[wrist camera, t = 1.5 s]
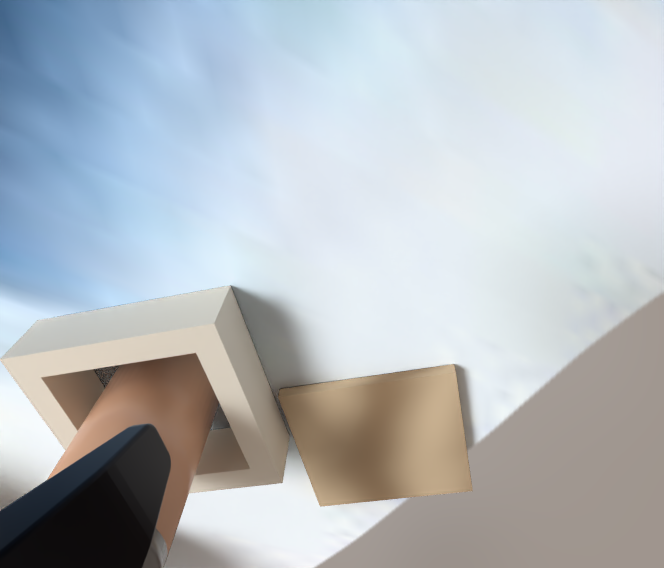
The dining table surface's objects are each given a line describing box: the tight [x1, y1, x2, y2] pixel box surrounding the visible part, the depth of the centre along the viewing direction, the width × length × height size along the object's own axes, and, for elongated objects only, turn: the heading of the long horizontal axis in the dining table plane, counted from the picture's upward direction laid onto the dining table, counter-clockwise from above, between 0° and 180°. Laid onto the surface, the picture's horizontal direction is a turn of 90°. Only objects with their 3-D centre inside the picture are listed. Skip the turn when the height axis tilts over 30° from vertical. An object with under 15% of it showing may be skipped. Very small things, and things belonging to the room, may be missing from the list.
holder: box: [0, 285, 290, 493], centre depth 25 cm, size 10×10×3 cm
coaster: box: [278, 364, 472, 506], centre depth 27 cm, size 9×9×1 cm
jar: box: [47, 353, 219, 568], centre depth 22 cm, size 5×5×10 cm
